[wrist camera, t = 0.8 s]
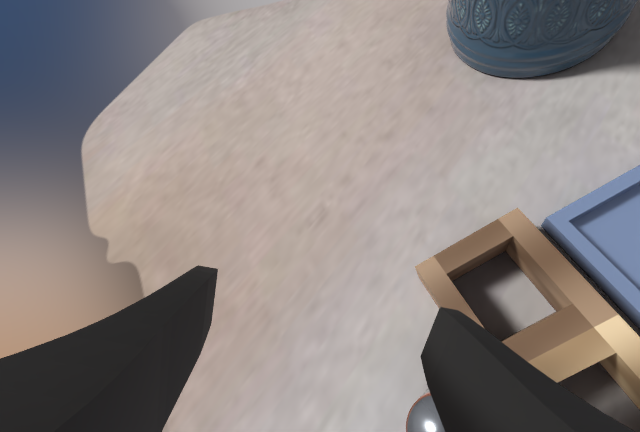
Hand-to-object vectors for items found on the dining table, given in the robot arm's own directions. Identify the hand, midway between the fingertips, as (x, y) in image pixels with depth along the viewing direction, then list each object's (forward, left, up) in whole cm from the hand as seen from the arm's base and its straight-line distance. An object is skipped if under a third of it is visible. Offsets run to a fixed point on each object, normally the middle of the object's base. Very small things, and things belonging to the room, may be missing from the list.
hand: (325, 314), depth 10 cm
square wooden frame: (-1, -7, -13) cm, 15 cm away
